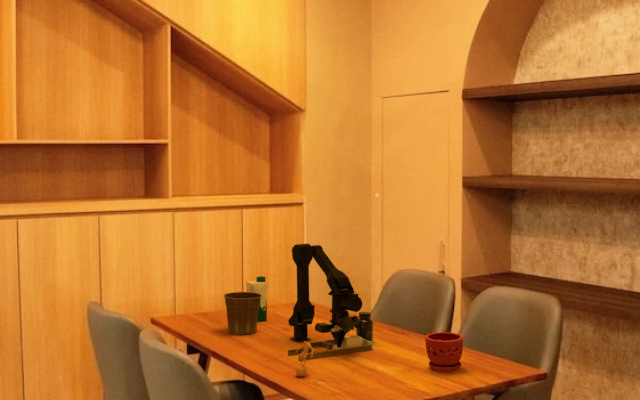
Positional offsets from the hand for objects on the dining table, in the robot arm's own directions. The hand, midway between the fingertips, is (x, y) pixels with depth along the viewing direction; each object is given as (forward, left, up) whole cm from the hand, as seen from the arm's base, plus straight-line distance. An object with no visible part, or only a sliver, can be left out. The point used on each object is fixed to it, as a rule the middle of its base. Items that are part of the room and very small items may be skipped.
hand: (338, 347), depth 300 cm
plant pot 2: (+39, +20, -2) cm, 44 cm away
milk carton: (-66, -4, -2) cm, 66 cm away
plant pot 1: (-48, -19, -2) cm, 52 cm away
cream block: (0, +6, -2) cm, 6 cm away
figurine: (+22, -28, -2) cm, 36 cm away
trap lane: (-3, -4, -1) cm, 5 cm away
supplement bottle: (-8, +17, -2) cm, 19 cm away
